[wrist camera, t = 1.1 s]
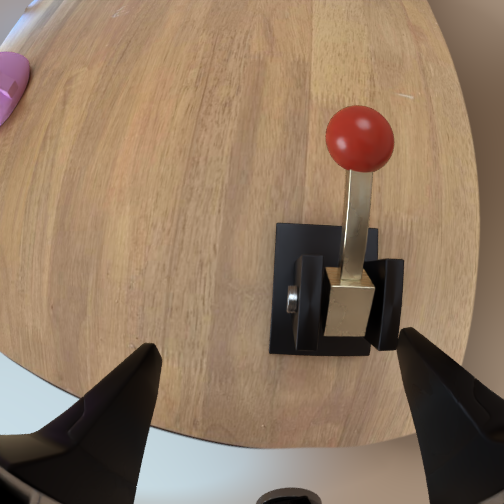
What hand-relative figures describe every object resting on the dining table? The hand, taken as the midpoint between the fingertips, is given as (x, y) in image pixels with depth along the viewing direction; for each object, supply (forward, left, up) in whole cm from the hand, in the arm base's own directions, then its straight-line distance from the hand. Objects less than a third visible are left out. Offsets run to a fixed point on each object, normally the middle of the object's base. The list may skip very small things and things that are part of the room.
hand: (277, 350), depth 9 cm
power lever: (+4, -5, -5) cm, 8 cm away
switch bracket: (0, -4, -13) cm, 13 cm away
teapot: (+47, +30, -13) cm, 57 cm away
